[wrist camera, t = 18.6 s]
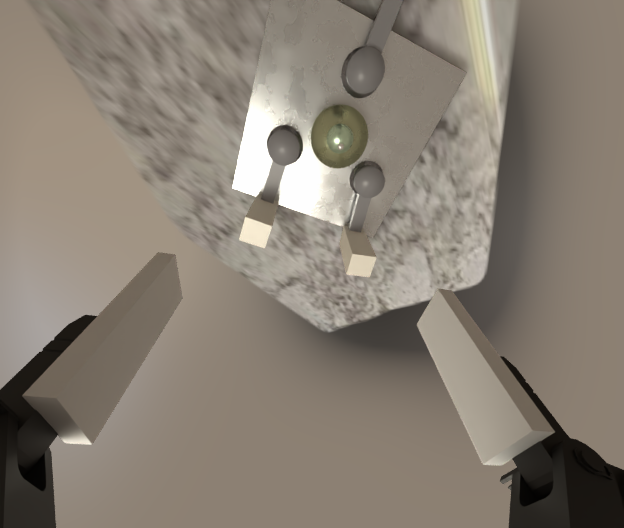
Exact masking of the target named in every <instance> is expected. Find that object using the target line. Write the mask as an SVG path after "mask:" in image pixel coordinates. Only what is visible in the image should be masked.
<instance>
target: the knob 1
mask: <svg viewBox="0 0 624 528" xmlns="http://www.w3.org/2000/svg"><path fill="white" fill-rule="evenodd" d="M267 150H268V154H269V156H270V158H271V159H272V164H271V167H270V170H269V174H268V177H267V180H266V184H265V187H264V190H263V194H262V195H259V194H257V196H256V198H255V200H254V202H253V204H252V206H251V207H250V209H249V211H248V213H247V215H246V217H245V220H244V224H243V228H242V231H241V235H240V238H239V240H241V241H244V242H247V243H250V244H253V245H256V246H259V247H262V248H265V246H266V243H267V240H268V237H269V234H270V231H271V228H272V225H273V221H274V218H275V214H276V211H277V207H278V204H279V202H277V201H275V197H276V194H277V191H278V188H279V185H280V182H281V179H282V176H283V173H284V170H285V166H287V165H290V164H292V163H294V162H295V161H296V159H297V158H298V156H299V151H300V143H299V140H298V138H297V136H296V135H295V134H294V133H293V132H292V131H290V130H287V129H281V130H278V131H276V132H275V133H274V134H273V135H272V136H271V137H270V138H269V141H268V144H267Z"/></svg>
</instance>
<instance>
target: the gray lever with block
mask: <svg viewBox="0 0 624 528" xmlns="http://www.w3.org/2000/svg"><path fill="white" fill-rule="evenodd" d="M402 2H403V0H382V2H381V5H380V7H379V10H378V12H377V15H376V18H375V20H374V23H373V26H372V28H371V31H370V34H369V36H368V39H367V42H366V44H365V47H364V48H362V49H360V50H358V51H357V52H356V53H355V54H354V55H353V56H352V57H351V58H350V60H349V62H348V64H347V67H346V72H345V78H346V82H347V85H348V87H349V88H350V89H351V90H352V91H353V92H354V93H357V94H366V93H370V92H372V91H374V90H375V89H376V88H377V87H378V86H379V85H380V83H381V81H382V79H383V77H384V72H385V63H384V59H383V57H382V55H381V54H382V51H383V49H384V46H385V44H386V41H387V39H388V36H389V34H390V32H391V29H392V27H393V24H394V22H395V19H396V17H397V14H398V12H399V9H400V7H401V5H402Z"/></svg>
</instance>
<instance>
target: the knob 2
mask: <svg viewBox="0 0 624 528" xmlns="http://www.w3.org/2000/svg"><path fill="white" fill-rule="evenodd" d="M353 185H354V188H355V190H356V191H357V197H356V201H355V205H354V208H353V212H352V216H351V220H350V224H349V227H347V226H344V227H343V231H342V235H341V239H340V243H339V244H340V249H341V253H342V257H343V262H344V266H345V270H346V274H348V275H356V276H364V277H370V274H371V272H372V269H373V266H374V263H375V260H376V255H375V253H374V250H373V248H372V246H371V244H370V242H369V240H368V237H367V235H366V233H365V231H364V229H362V228H363V224H364V221H365V218H366V214H367V211H368V207H369V204H370V201H371V198H373V197H375V196H377V195H378V194H379V193H380V192H381V191H382V190H383V188H384V185H385V177H384V175H383V173H382V172H381V171H380V170H379V169H378V168H377V167H375V166H373V165H364V166H362V167H360V168H359V169H358V170H357V171H356V172H355V174H354V177H353Z"/></svg>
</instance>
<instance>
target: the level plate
mask: <svg viewBox="0 0 624 528" xmlns="http://www.w3.org/2000/svg"><path fill="white" fill-rule="evenodd" d="M373 23H374V21H373V20H372V19H370V18H368V17H366V16H364V15H363V14H361V13H359V12H357V11H355V10H354V9H352V8H350V7H348V6H346V5H345V4H343V3H341V2H339V1H337V0H271V4H270V9H269V14H268V18H267V23H266V28H265V33H264V38H263V42H262V47H261V52H260V57H259V62H258V67H257V71H256V76H255V81H254V86H253V91H252V95H251V100H250V105H249V110H248V115H247V120H246V124H245V129H244V134H243V139H242V144H241V149H240V153H239V158H238V163H237V168H236V173H235V177H234V182H233V187H232V188H234V189H237V190H239V191H242V192H245V193H248V194H251V195H254V196H257V194H259V195H262V194H263V190H264V187H265V184H266V180H267V177H268V174H269V170H270V167H271V164H272V159H271V158H270V156H269V154H268V150H267V144H268V141H269V138H270V137H271V136H272V135H273V134H274V133H275V132H276V131H278V130H281V129H287V130H290V131H292V132H293V133H294V134H295V135H296V136H297V138H298V140H299V143H300V151H299V156H298V158H297V159H296V161H295V162H294V163H292V164H290V165H287V166H285V170H284V173H283V176H282V179H281V182H280V185H279V188H278V191H277V194H276V197H275V201H277V202H279V205H282V206H285V207H288V208H290V209H293V210H296V211H299V212H302V213H305V214H307V215H310V216H313V217H316V218H319V219H322V220H324V221H327V222H330V223H333V224H336V225H339V226H341V227H344V226H347V227H349V224H350V220H351V216H352V212H353V208H354V205H355V201H356V197H357V191H356V190H355V188H354V185H353V177H354V174H355V172H356V171H357V170H358V169H359V168H360V167H362V166H364V165H373V166H375V167H377V168H378V169H379V170H380V171H381V172H382V173H383V175H384V177H385V185H384V188H383V190H382V191H381V192H380V193H379V194H378V195H377V196H375V197H373V198H371V201H370V204H369V207H368V211H367V214H366V218H365V221H364V224H363V228H362V229H364V231H365V233H366V235H367V236H370V237H374V235H375V233H376V231H377V230H378V228H379V226H380V224H381V223H382V221H383V219H384V217H385V216H386V214H387V212H388V210H389V208H390V207H391V205H392V203H393V201H394V200H395V198H396V196H397V194H398V193H399V191H400V189H401V187H402V186H403V184H404V182H405V180H406V179H407V177H408V175H409V173H410V172H411V170H412V168H413V166H414V164H415V163H416V161H417V159H418V157H419V156H420V154H421V152H422V150H423V149H424V147H425V145H426V143H427V142H428V140H429V138H430V136H431V135H432V133H433V131H434V129H435V128H436V126H437V124H438V122H439V120H440V119H441V117H442V115H443V113H444V112H445V110H446V108H447V106H448V105H449V103H450V101H451V99H452V98H453V96H454V94H455V92H456V91H457V89H458V87H459V85H460V84H461V82H462V80H463V78H464V77H465V75H466V73H467V72H465V71H463V70H461V69H459V68H458V67H456V66H454V65H452V64H450V63H449V62H447V61H445V60H443V59H441V58H440V57H438V56H436V55H434V54H432V53H431V52H429V51H427V50H425V49H424V48H422V47H420V46H418V45H416V44H415V43H413V42H411V41H409V40H407V39H406V38H404V37H402V36H400V35H398V34H397V33H395V32H393V31H391V32H390V34H389V36H388V39H387V41H386V44H385V46H384V49H383V51H382V54H381V55H382V57H383V59H384V63H385V72H384V77H383V79H382V81H381V83H380V85H379V86H378V87H377V88H376V89H375V90H374V91H372V92H370V93H366V94H357V93H354V92H353V91H352V90H351V89H350V88H349V87H348V85H347V82H346V78H345V72H346V67H347V64H348V62H349V60H350V58H351V57H352V56H353V55H354V54H355V53H356V52H357V51H358V50H360V49H362V48H364V47H365V44H366V42H367V39H368V36H369V34H370V31H371V28H372V26H373Z"/></svg>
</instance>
